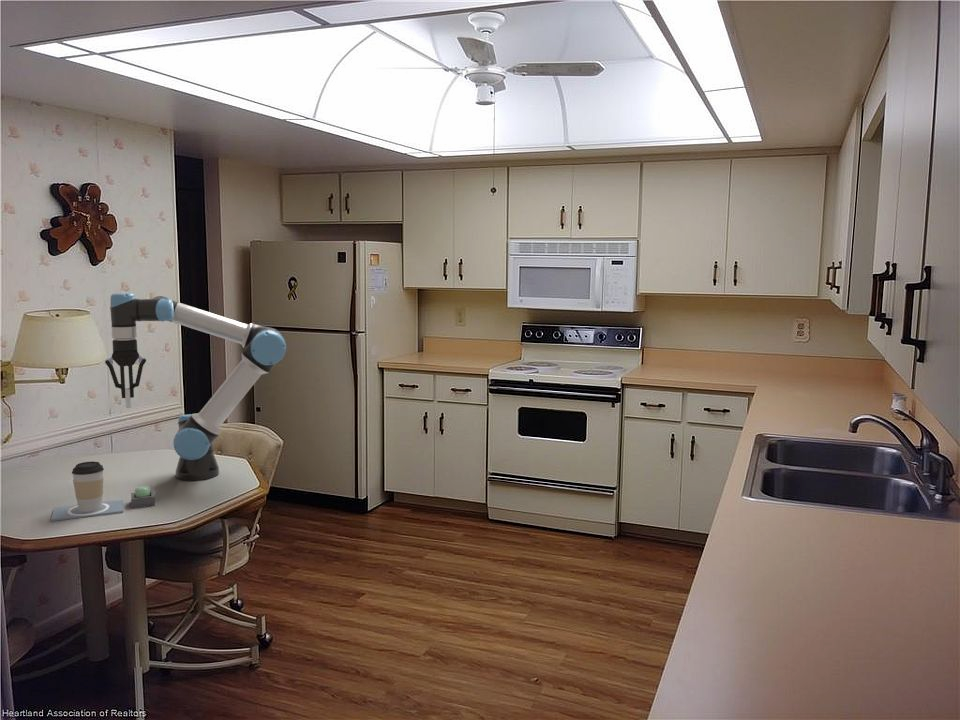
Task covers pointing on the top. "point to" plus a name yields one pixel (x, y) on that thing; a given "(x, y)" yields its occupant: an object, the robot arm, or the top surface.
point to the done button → (142, 491)
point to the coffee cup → (88, 486)
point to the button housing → (142, 500)
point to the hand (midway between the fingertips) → (128, 407)
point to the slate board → (73, 512)
